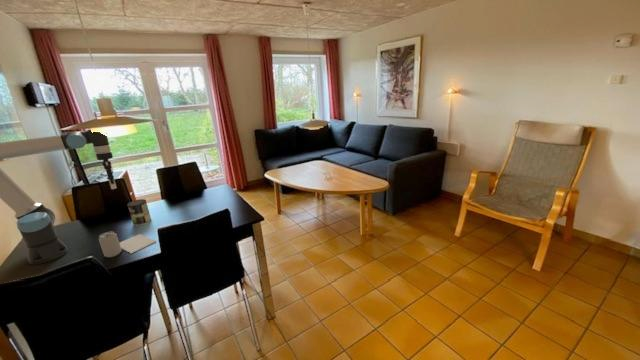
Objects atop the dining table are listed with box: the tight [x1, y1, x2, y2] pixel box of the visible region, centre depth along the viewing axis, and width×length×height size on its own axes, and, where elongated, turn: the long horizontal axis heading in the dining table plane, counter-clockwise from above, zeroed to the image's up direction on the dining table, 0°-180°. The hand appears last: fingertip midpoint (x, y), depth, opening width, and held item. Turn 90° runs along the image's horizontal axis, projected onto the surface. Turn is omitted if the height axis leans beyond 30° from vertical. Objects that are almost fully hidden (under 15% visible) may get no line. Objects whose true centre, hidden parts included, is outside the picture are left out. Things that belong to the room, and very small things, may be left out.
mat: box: [119, 233, 157, 255], centre depth 150 cm, size 13×18×1 cm
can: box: [98, 230, 123, 258], centre depth 139 cm, size 8×8×12 cm
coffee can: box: [126, 198, 152, 226], centre depth 174 cm, size 10×10×14 cm
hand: (113, 186), depth 166 cm, fingers open, 13 cm apart
